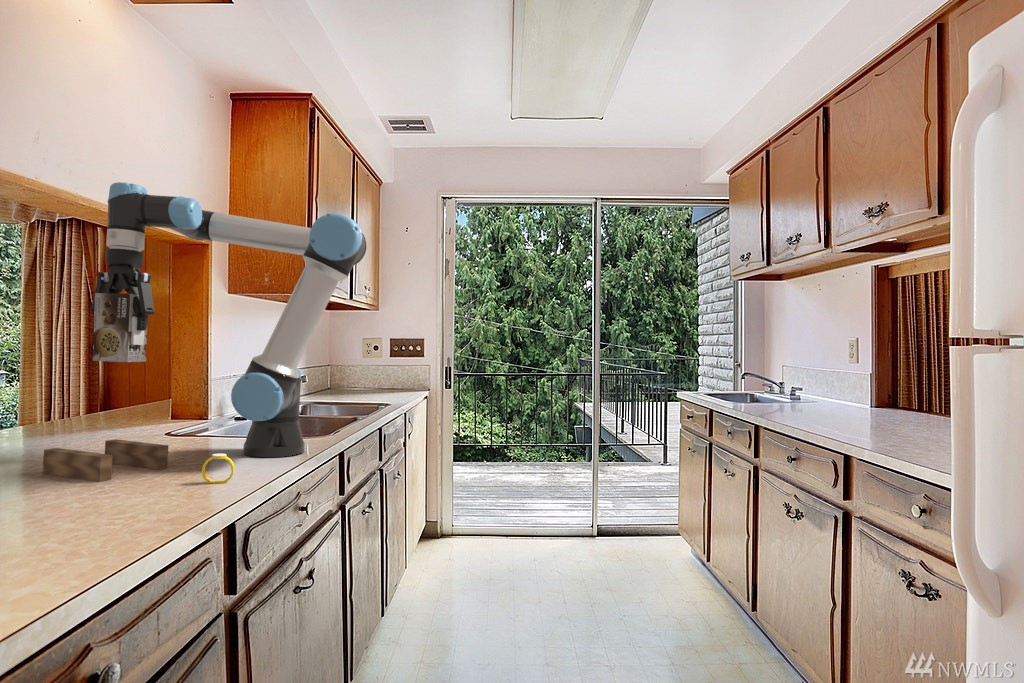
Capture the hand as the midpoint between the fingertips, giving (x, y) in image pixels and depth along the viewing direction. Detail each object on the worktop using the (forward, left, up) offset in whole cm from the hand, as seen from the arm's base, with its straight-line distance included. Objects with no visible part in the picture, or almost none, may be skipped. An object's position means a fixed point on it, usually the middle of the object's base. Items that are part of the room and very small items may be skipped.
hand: (120, 343), depth 138 cm
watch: (-36, +6, -28) cm, 46 cm away
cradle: (-8, +8, -28) cm, 30 cm away
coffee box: (0, 0, -4) cm, 4 cm away
